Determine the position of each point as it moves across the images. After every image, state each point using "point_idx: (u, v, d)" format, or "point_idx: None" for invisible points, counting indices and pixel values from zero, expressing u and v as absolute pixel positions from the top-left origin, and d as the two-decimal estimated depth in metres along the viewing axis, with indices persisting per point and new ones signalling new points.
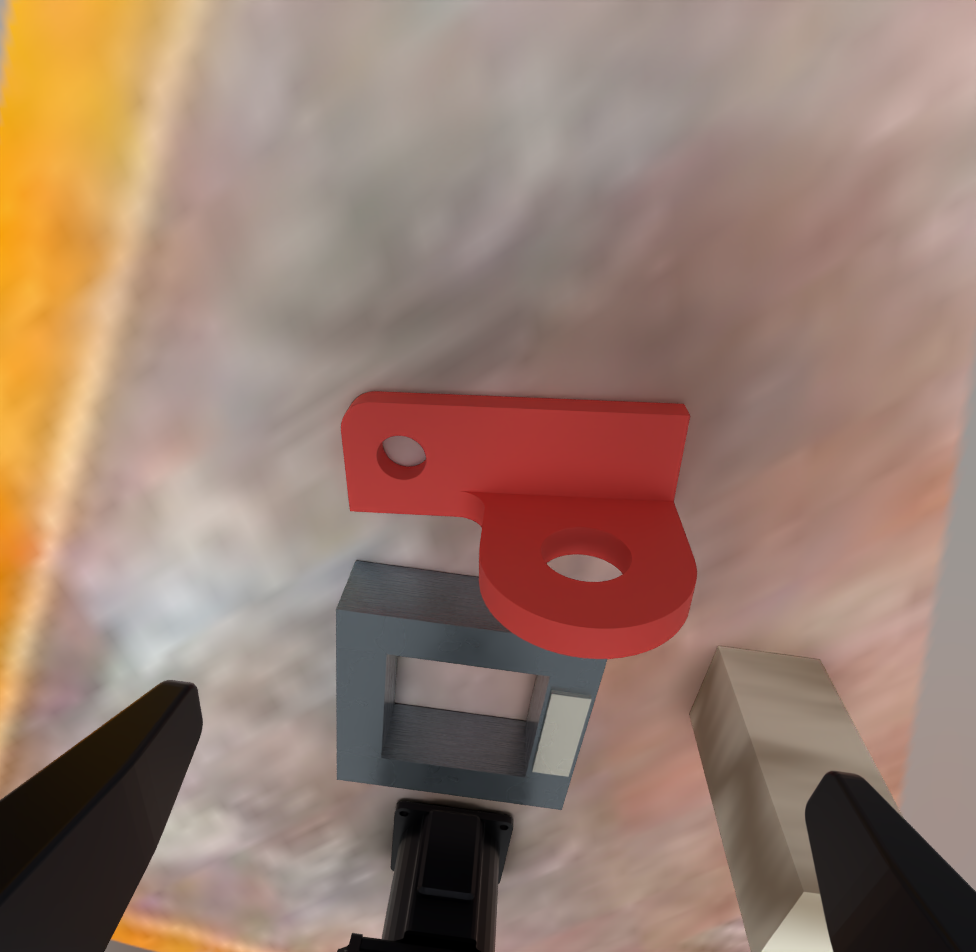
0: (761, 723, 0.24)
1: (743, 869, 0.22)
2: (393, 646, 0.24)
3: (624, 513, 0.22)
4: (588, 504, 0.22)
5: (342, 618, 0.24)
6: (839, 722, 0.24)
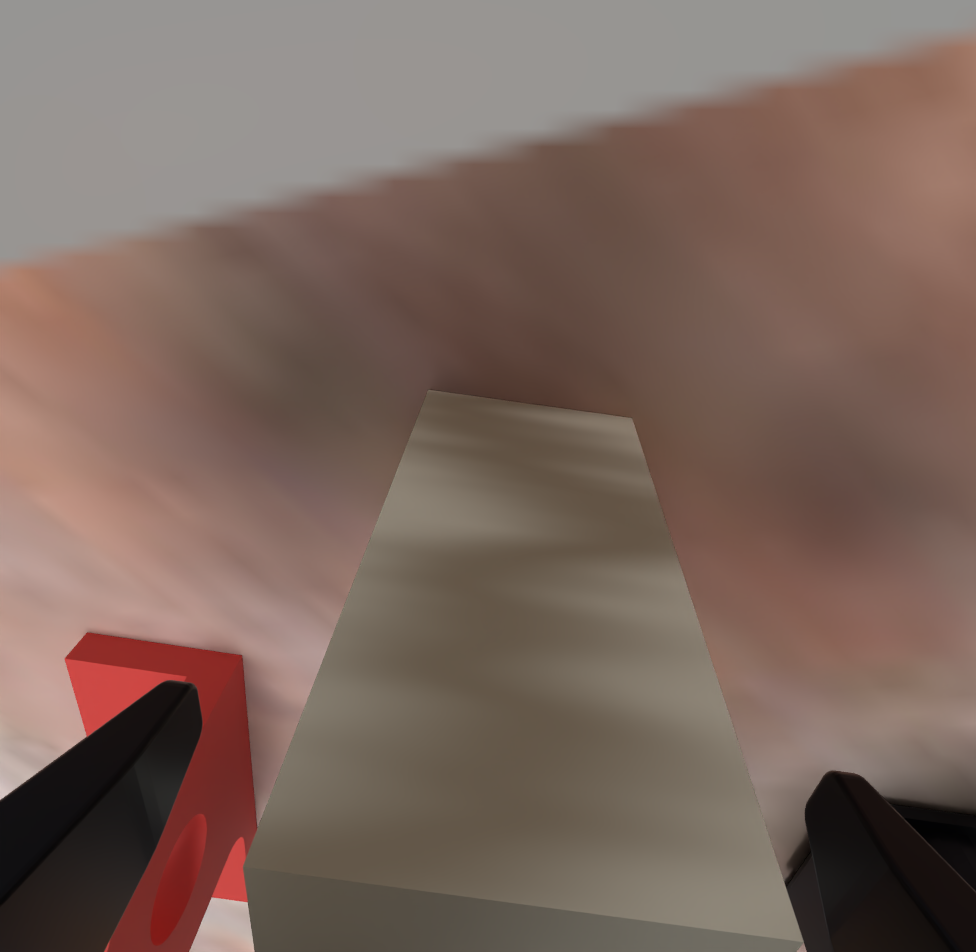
0: None
1: None
2: None
3: None
4: None
5: None
6: None
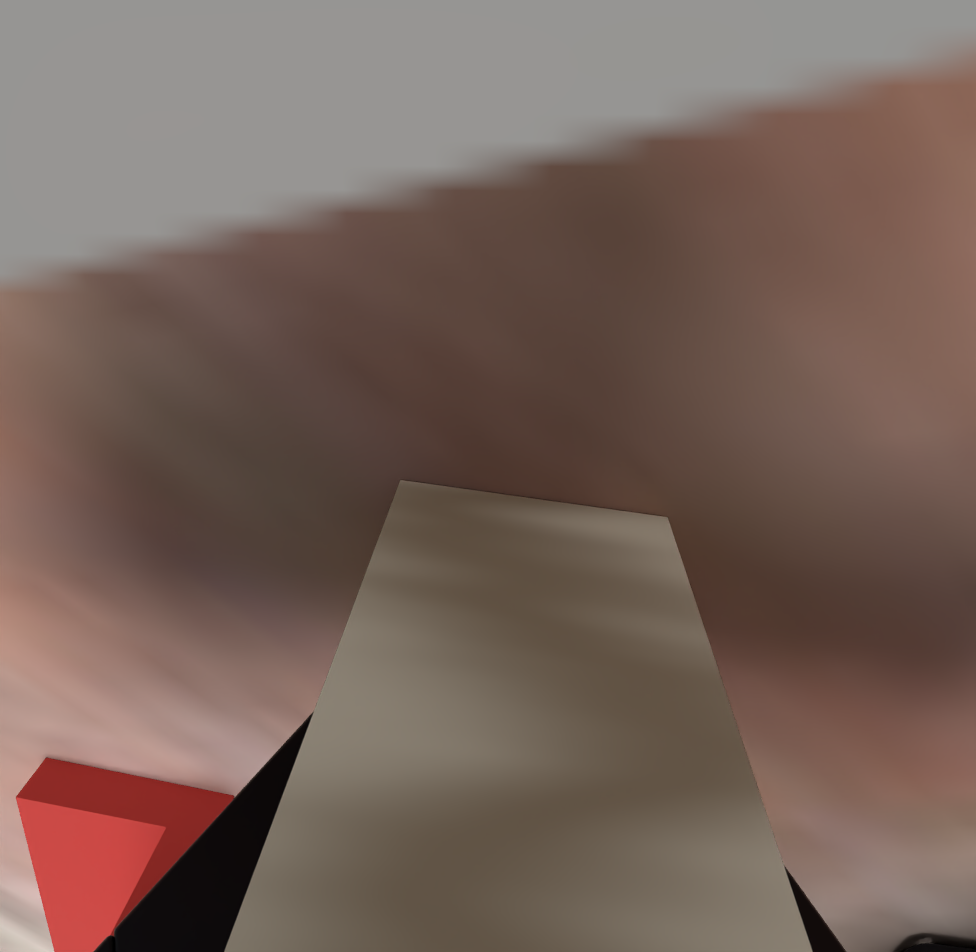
0: None
1: None
2: None
3: None
4: None
5: None
6: None
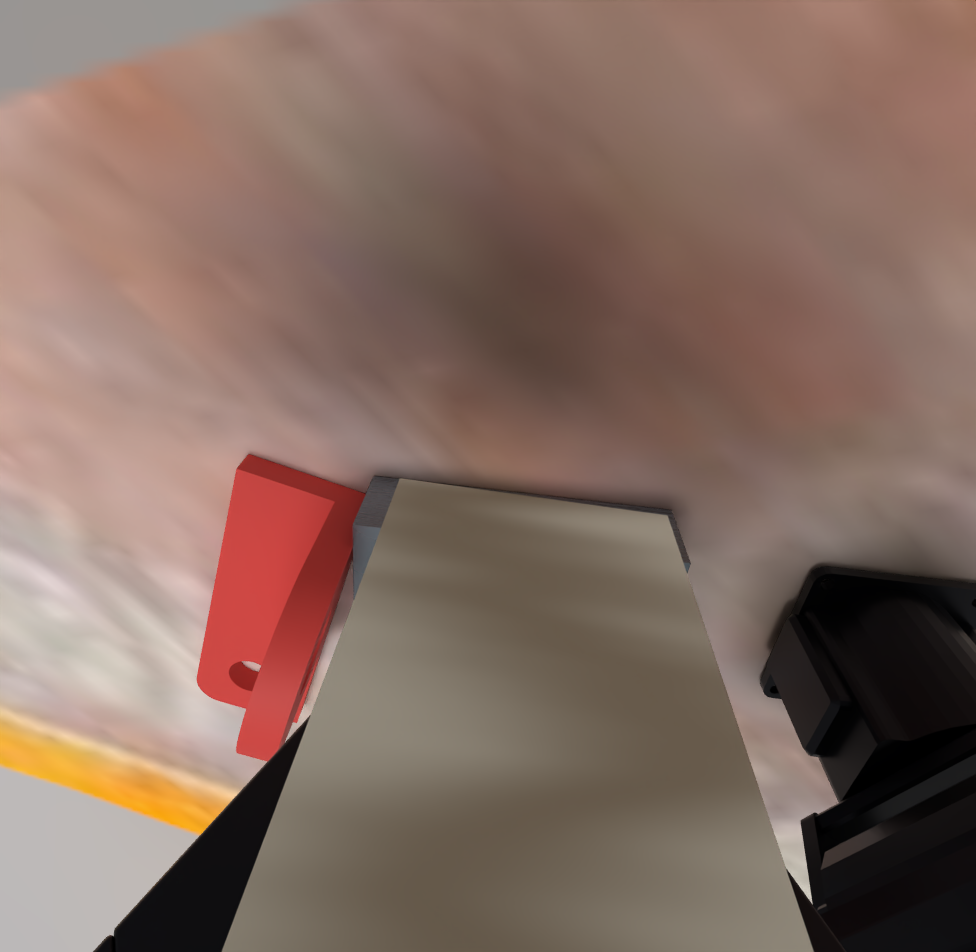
0: None
1: None
2: None
3: None
4: None
5: None
6: None
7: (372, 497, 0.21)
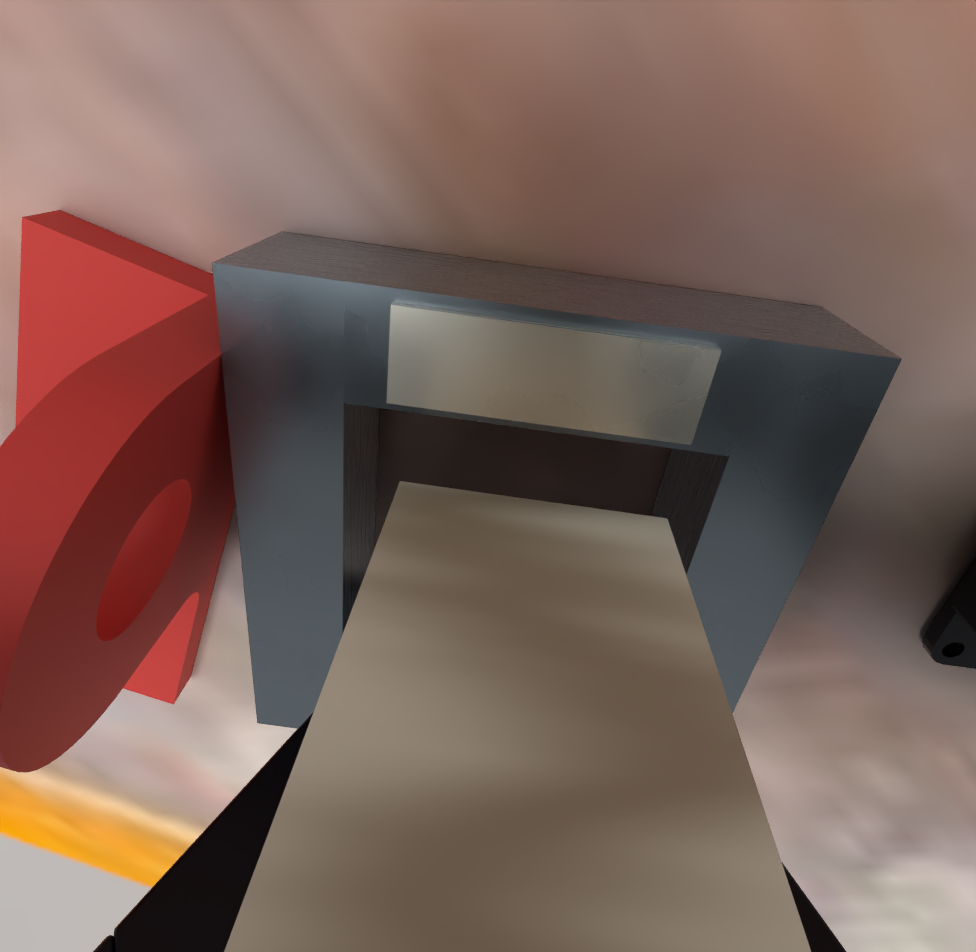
0: None
1: None
2: (320, 664, 0.13)
3: None
4: None
5: (275, 718, 0.14)
6: None
7: (269, 245, 0.11)
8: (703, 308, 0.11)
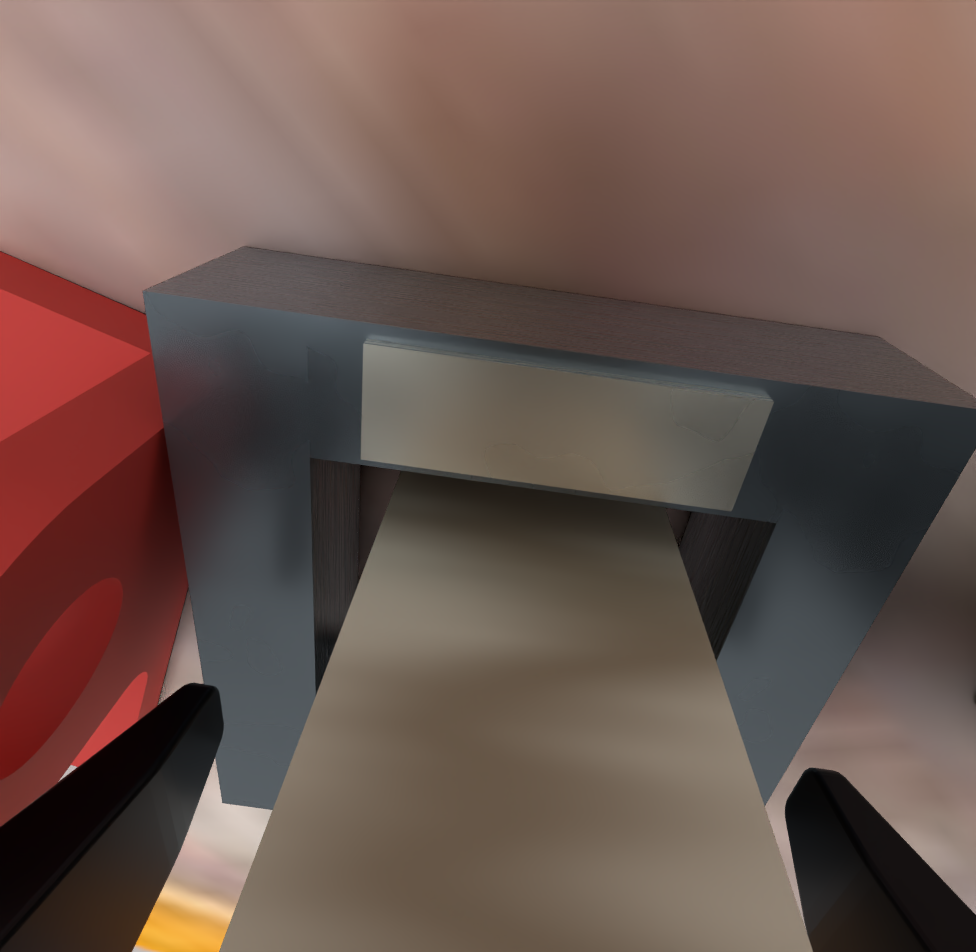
0: None
1: None
2: (292, 743, 0.12)
3: None
4: None
5: (242, 798, 0.13)
6: None
7: (222, 265, 0.09)
8: (744, 342, 0.09)
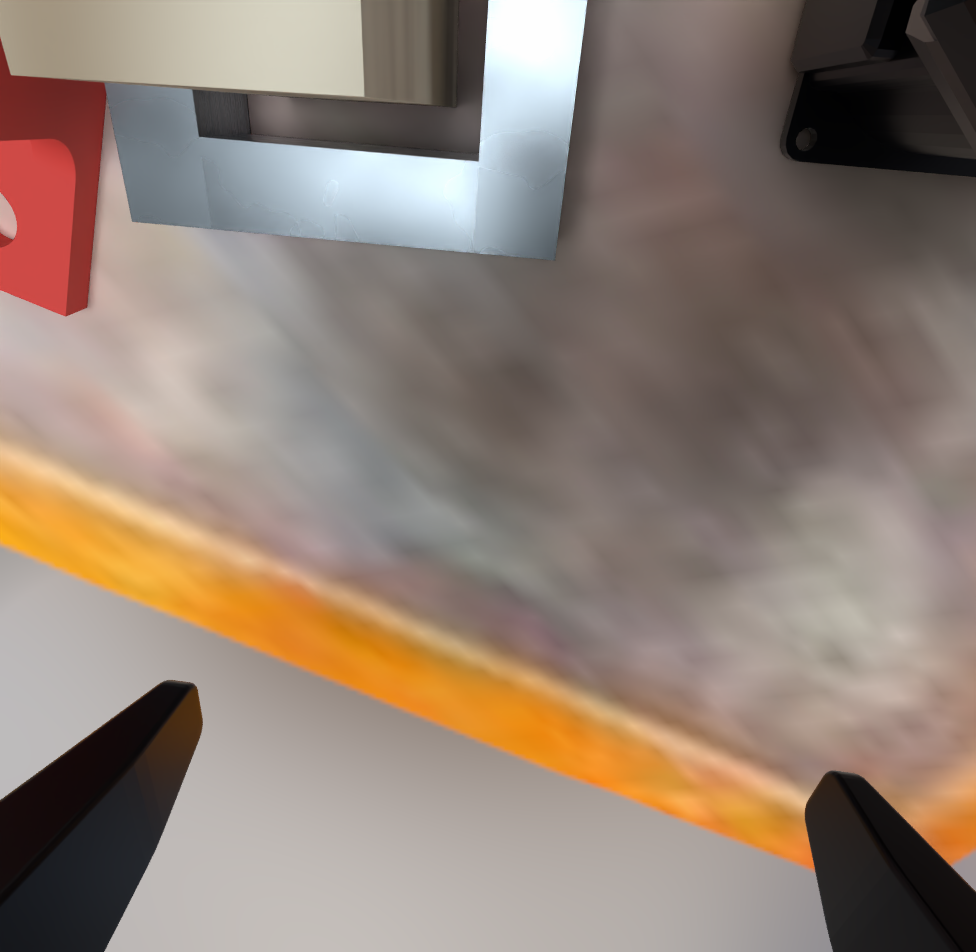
0: None
1: (331, 96, 0.10)
2: (176, 122, 0.14)
3: None
4: None
5: (147, 212, 0.15)
6: None
7: None
8: None
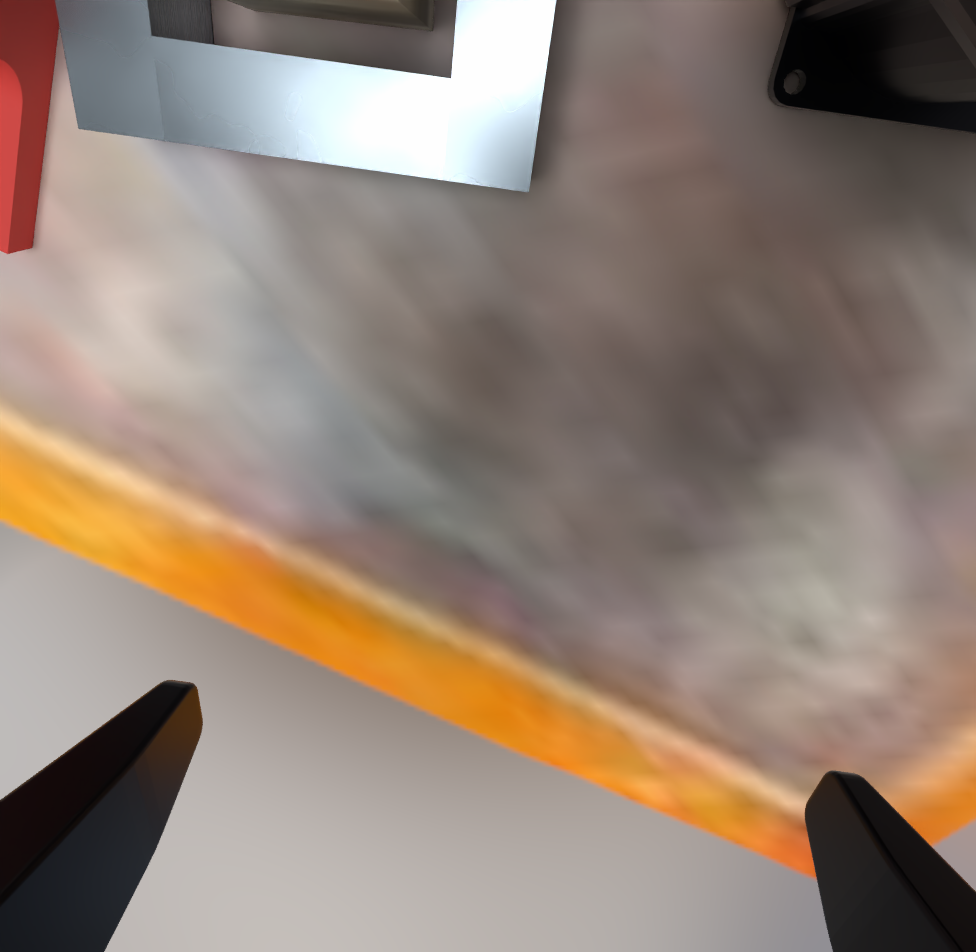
0: None
1: None
2: (127, 18, 0.13)
3: None
4: None
5: (95, 119, 0.14)
6: None
7: None
8: None
